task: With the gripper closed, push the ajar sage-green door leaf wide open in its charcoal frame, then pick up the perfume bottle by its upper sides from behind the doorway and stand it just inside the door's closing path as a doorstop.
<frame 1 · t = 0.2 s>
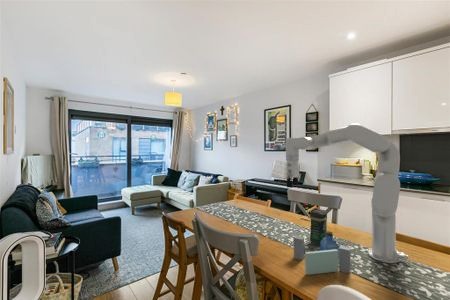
hand: (292, 186, 133), 31 cm above the table, tool pointing down, fingers open, 9 cm apart
door frame: (320, 263, 102), on the table
door: (321, 261, 95), point 5 cm above the table, hinge at 45.0°
perfume bottle: (329, 256, 109), on the table
coffee jar: (318, 242, 125), on the table
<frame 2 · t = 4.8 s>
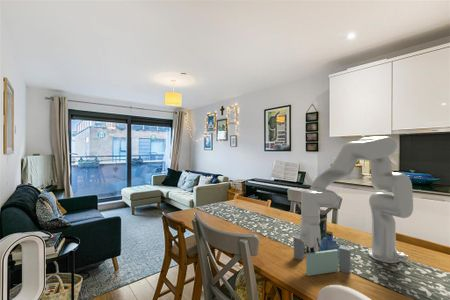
hand: (310, 259, 97), 5 cm above the table, tool pointing down, fingers closed
door: (322, 262, 94), point 5 cm above the table, hinge at 48.1°, touching gripper
everything else where it was.
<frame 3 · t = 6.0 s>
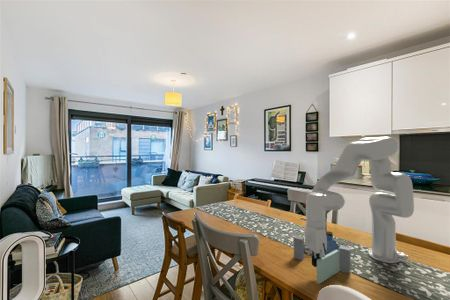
hand: (316, 265, 92), 4 cm above the table, tool pointing down, fingers closed
door: (328, 265, 91), point 5 cm above the table, hinge at 70.9°, touching gripper
everything else where it was.
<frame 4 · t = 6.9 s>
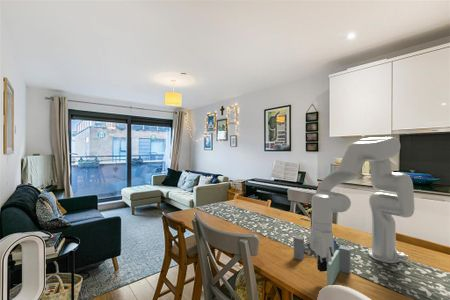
hand: (322, 270, 89), 5 cm above the table, tool pointing down, fingers closed
door: (333, 267, 90), point 5 cm above the table, hinge at 86.1°, touching gripper
everything else where it was.
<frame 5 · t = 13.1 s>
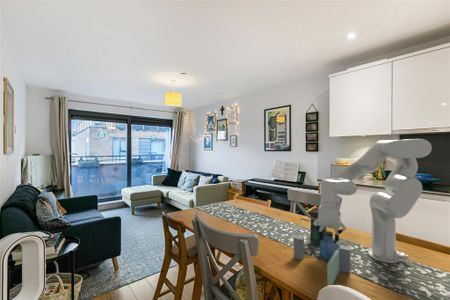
hand: (329, 240, 109), 8 cm above the table, tool pointing down, fingers closed on perfume bottle, 5 cm apart
door: (333, 267, 90), point 5 cm above the table, hinge at 86.4°
perfume bottle: (329, 256, 109), on the table, touching gripper
everything else where it was.
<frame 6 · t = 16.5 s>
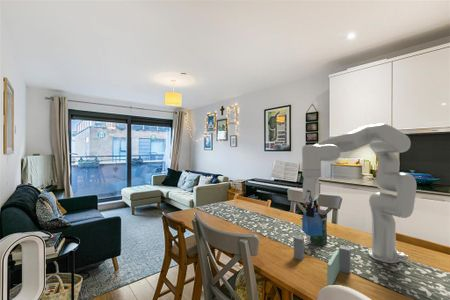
hand: (312, 214, 95), 25 cm above the table, tool pointing down, fingers closed on perfume bottle, 5 cm apart
perfume bottle: (312, 233, 95), point 17 cm above the table, touching gripper
everything else where it was.
when the fingers open (9 cm above the table, at t = 19.9 s): perfume bottle drops 1 cm, on the table.
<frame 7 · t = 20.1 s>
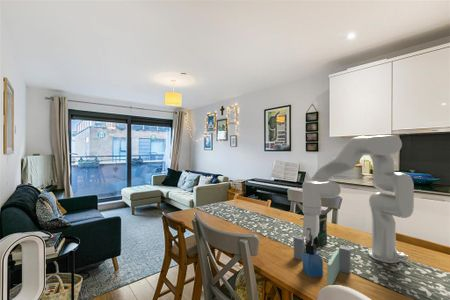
hand: (312, 250, 95), 10 cm above the table, tool pointing down, fingers open, 7 cm apart
perfume bottle: (312, 272, 95), on the table
everything else where it was.
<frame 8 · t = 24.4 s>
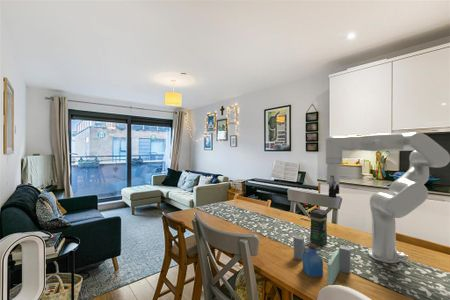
hand: (334, 195, 109), 30 cm above the table, tool pointing down, fingers open, 9 cm apart
nothing on the table moved.
at the end: door at +86° (first picture: +45°); perfume bottle 0.2 cm from the target spot, on the table; perfume bottle tilted 0° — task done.
